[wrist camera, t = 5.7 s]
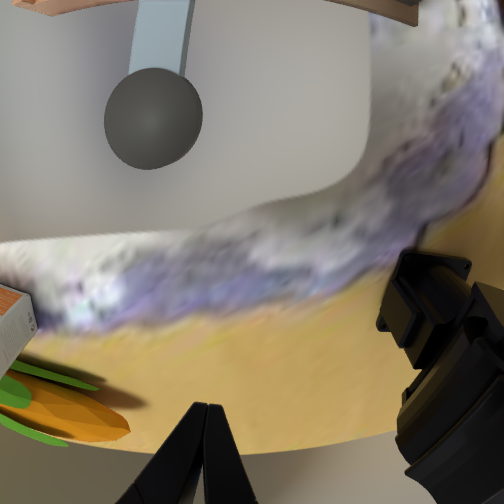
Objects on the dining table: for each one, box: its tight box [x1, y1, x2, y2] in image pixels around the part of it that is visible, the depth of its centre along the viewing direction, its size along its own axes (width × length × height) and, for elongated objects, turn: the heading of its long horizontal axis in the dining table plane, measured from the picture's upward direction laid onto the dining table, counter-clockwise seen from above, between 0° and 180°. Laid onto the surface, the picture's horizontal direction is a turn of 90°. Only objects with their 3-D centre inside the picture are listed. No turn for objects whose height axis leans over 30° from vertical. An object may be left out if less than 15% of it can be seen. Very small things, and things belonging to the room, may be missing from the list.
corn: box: [0, 360, 131, 447], centre depth 23 cm, size 7×8×20 cm
